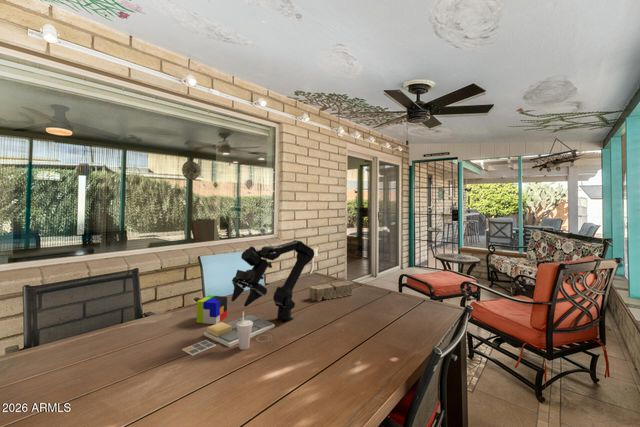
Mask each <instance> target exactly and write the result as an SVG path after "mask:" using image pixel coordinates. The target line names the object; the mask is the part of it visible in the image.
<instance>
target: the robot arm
mask: <svg viewBox="0 0 640 427" xmlns="http://www.w3.org/2000/svg"><path fill="white" fill-rule="evenodd" d="M292 251H294V252H295V253H296V261H295V263H294V266H293V267H292V269H291V270H290V273H289V274H288V276H287V278H286V280H285V282H284V283H283V285H282V286H277V287H276V289H275V292H274V293H273V297H272V299H273V302H274V305H275V307H277V317H276V318H275V320H276V321H279V322H282V323H288V322H290V321H292V320H294V317H292V309H295V306H296V303H295V302H294V301H293V299H292V298H293V289H294V287H295V286H296V284H297V282H298V280H299V277H300V276H301V274H302V272H303V270H304V268H305V266H306V265H308V264H309V263H310V262H312V260H313V258H314V257H315V251H314V249H313V248H311V247H310V246H309V245H306V244H305V243H304V242H302V240H292V241H289V242H286V243H282V244H279V245H268V246H262V247H261V249H260V250H257V249H256V248H255V247H254V246H249V248H247V249H245V250H244V251H243V252H242V253H241V255H240V256H241V257H240V258H241V259H242V260H243V261H244V262H246V264H248V265H249V266H250V267H252V268H251V269H246V270H245V271H244V270H240V269H237V270H236V274H235V276H233V278H232V280H231V282H232V285H233V292H232V296H231V300H230V301H231V302H235V301H236V300H237V299H238V298H239V296H240V295H241V294H243V292H244V291H245V289H246V288H249V294H248V296H247V297H246V300H245V302H244V303H243V306H244V307H248V306H249V305H250V304H252V303H253V302H254V301H256V300H257V299H259V298H261V297H263V296H266V295H267V293H268V288H267V287H266V286H264V285H263V284H262V283H260V281H261V280H264V278H265V277H264V274H265V272H266V271H267V269H268V268H270V269H272V268H273V265H272V261H274V260H277V259H278V258H279V257H280V256H281V255H283V254H286V253H290V252H292ZM267 260H269V261H267Z"/></svg>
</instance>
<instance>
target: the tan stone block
mask: <svg viewBox="0 0 640 427" xmlns="http://www.w3.org/2000/svg"><path fill="white" fill-rule="evenodd" d="M354 287H355V282H352V281H349V280H343V281H337V282H331V283H330V284H328V283H324V284H318V285H313V286H309V290H308V291H309V292H308V293H309V294H308V297H309V298H310V299H309V298H308V299H309V300H311V299H312V301H313V300H317V301H316V302H318V301H319V302H321V301H320V300H322V299H329V298H335V297H339V296H345V295H349V294H352V295H353V288H354ZM335 299H336V298H335ZM322 301H323V300H322Z"/></svg>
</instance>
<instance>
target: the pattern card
mask: <svg viewBox="0 0 640 427" xmlns="http://www.w3.org/2000/svg"><path fill="white" fill-rule="evenodd" d="M216 346H217V344H215V343H212V342H210V341H209V340H207V339H205V340H202V341H199V342H197V343H194V344H192V345H190V346H187V347H184V348H182V349H181V350H182V351H183V352H184V353H187V354H189V355H190V356H192V357H193V356H196V355H198V354H200V353H202V352H204V351H205V352H206V351H207V350H209V349H211V348H214V347H216Z"/></svg>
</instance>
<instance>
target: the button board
mask: <svg viewBox="0 0 640 427" xmlns="http://www.w3.org/2000/svg"><path fill="white" fill-rule="evenodd" d="M242 319H243V317H240V318H238V319H235V320H232V321H229V322H226V323H225V324H228V325H230V326H232V331H229V332H227V333H224V334H222V335H219V337H216V336H214V335H212V334H210V333H208V332H207V331H205V332H203V336H204V337H207V338H209V339H211V340H213V341H216V342H218V343H220V344H222V345H224V346H226V347H228V348H231V347H233V346H235V345H239V341H238V332H237V327H236V323H237V322H238V321H241V320H242ZM244 320H250V321H252V322H253V326H252V329H251V336H250V339H251V338H253V337H255V336H257V335H259V334H261V333H262V334H263V333H264V332H266V331H269V330H271V329H273V328H275V325H276V324H274V323H273V322H271V321H268V320H265V319H262V318H259V317H257V316H255V315H250V314H248V315H246V316H245V315H244Z"/></svg>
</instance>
